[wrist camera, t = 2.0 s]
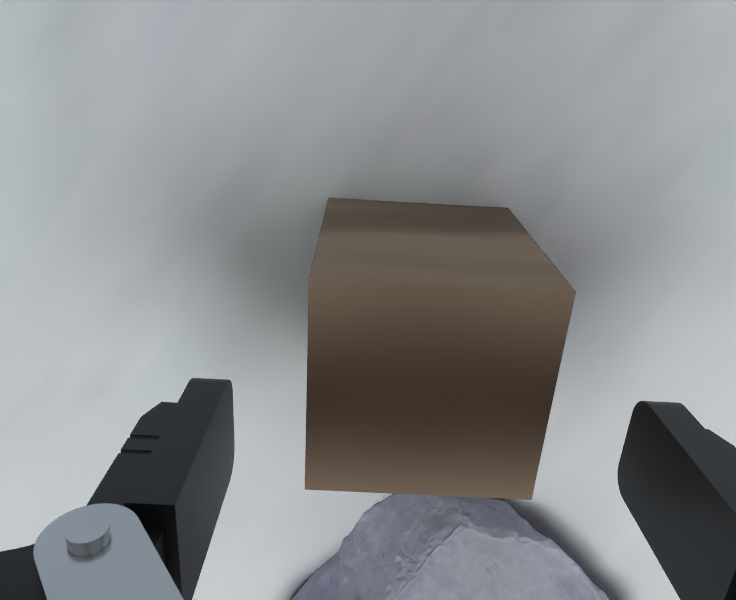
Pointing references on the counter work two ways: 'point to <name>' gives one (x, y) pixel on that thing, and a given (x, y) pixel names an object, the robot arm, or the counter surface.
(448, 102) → the counter surface
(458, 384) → the walnut block
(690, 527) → the robot arm
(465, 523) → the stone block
